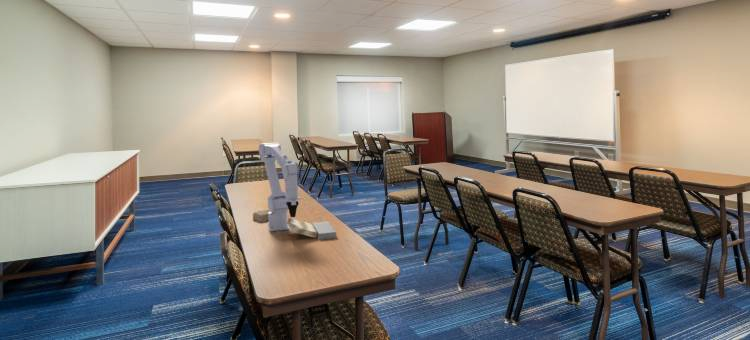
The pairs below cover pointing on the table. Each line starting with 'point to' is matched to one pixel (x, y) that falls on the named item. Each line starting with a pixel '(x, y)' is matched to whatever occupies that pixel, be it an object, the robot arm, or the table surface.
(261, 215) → the brick
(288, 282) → the table surface
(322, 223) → the board
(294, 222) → the cream flat slab
